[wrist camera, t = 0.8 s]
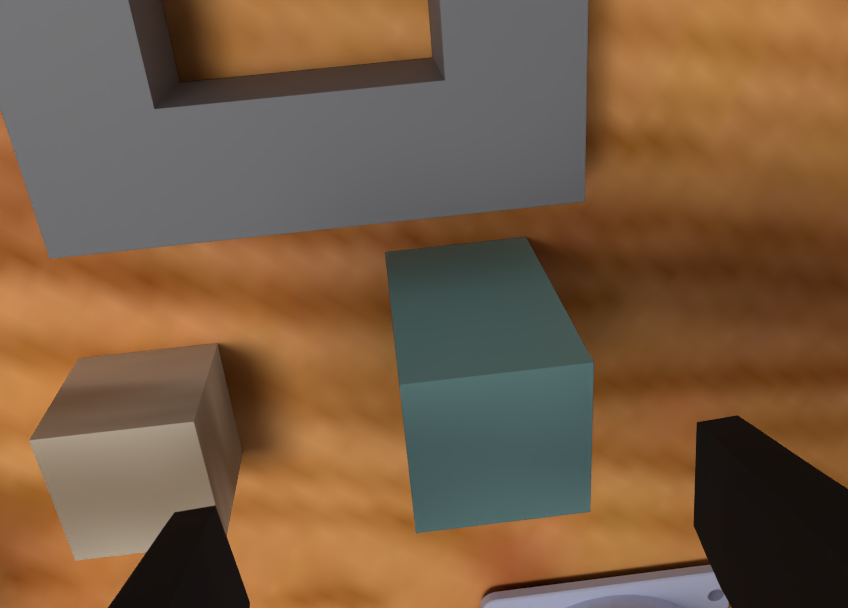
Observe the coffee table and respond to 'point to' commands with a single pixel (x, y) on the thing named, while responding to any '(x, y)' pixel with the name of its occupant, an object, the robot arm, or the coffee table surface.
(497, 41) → the hole board
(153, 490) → the beige cube
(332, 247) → the coffee table surface
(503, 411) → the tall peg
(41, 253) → the coffee table surface
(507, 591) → the robot arm
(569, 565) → the coffee table surface
